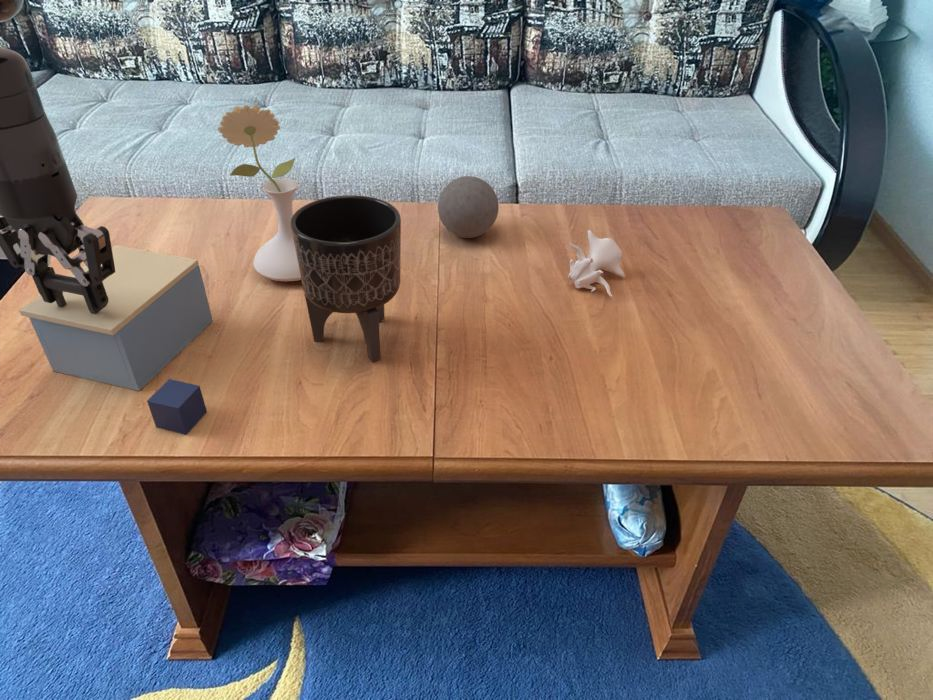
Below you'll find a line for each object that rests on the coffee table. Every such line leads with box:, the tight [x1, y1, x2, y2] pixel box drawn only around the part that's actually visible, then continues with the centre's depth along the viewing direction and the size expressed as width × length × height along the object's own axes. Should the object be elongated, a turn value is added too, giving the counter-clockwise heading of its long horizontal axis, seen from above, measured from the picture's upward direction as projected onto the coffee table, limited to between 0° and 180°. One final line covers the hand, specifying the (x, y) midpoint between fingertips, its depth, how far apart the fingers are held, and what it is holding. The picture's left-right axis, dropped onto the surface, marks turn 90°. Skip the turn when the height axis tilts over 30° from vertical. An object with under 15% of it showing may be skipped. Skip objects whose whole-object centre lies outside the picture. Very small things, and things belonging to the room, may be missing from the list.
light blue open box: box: [28, 265, 214, 392], centre depth 87 cm, size 16×13×9 cm
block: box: [146, 378, 208, 436], centre depth 77 cm, size 4×4×4 cm
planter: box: [290, 194, 402, 363], centre depth 86 cm, size 13×13×18 cm
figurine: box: [567, 229, 626, 298], centre depth 103 cm, size 10×8×10 cm
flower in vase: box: [217, 104, 302, 282], centre depth 98 cm, size 13×11×25 cm
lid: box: [18, 244, 200, 335], centre depth 82 cm, size 16×13×5 cm
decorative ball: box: [437, 175, 499, 239], centre depth 113 cm, size 10×10×10 cm
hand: (76, 303), depth 78 cm, fingers closed on lid, 5 cm apart
